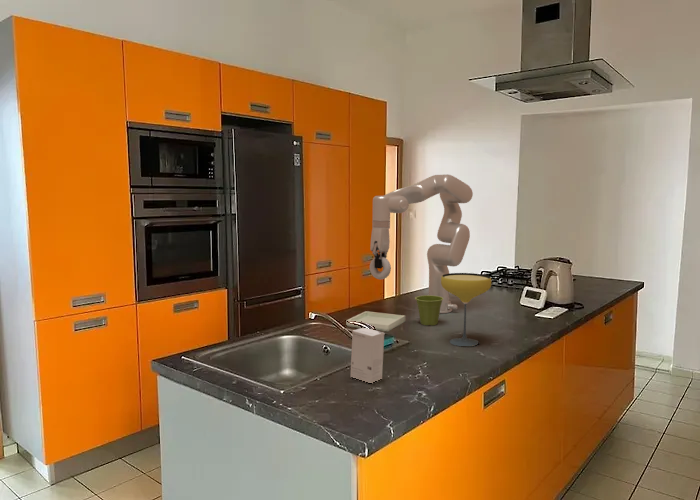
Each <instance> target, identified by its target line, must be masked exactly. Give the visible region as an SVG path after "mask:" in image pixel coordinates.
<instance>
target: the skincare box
mask: <svg viewBox="0 0 700 500" xmlns="http://www.w3.org/2000/svg"><path fill="white" fill-rule="evenodd" d="M351 335H352V336H351V337H352V339H351V354H350V355H351V358H350V378H351V377H353V378H356V379H359V380H362V381H361V382H363V381H365V382H364V383H366V382H368V383H372V384H374V383H373V382H375V381H377V382H379V381H378V380H380V379H382V380H383V370H384V369H383V367H384V366H383V365H384V364H383V362H384V346H385V332H384V331H380V330H373V329H368V328H357V329H353V330H352V333H351ZM356 379H355V380H356ZM359 380H358V381H359ZM380 381H381V380H380ZM368 383H367V384H368ZM375 383H376V382H375Z"/></svg>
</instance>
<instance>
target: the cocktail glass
mask: <svg viewBox="0 0 700 500" xmlns="http://www.w3.org/2000/svg"><path fill="white" fill-rule="evenodd" d="M441 285H442V287H443V288H444V289H445V290H446V291H448V292H449V294H452V295H453V296H455V297H457V298H458V299H459V300H460V301H461V302H462V304H464V312H463V313H464V314H463V315H464V317H463V331H462V332H463V333H462V337H457V338H456V337H455V338H453V339H450V340H449V343H450V344H451V345H453V346H456V345H457V346H456V347H461V346H472V345H476V344H478V342H479V341H478V340H476V339H473V338H468V337H467V305H468V304H469V303H470V302H471V301H472V299H474V298H476V297H478V296H480V295H483V294H484V293H486V292H488V291H489V290H490V289H491V287H492V277H491V276H490V275H488V274H487V275H486V274H481V273H474V272H473V273H472V272H470V273H469V272H452V273H451V272H449V274H444V275H442V277H441Z"/></svg>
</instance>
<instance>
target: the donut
mask: <svg viewBox="0 0 700 500" xmlns="http://www.w3.org/2000/svg"><path fill="white" fill-rule="evenodd" d="M381 259H382V266H383V267H382V270H381V271H379V268H375V259H374V258H373V259H371V260H370V263H369V271H370V274H371V275H372V277H373V278H375V279H377V280H384V279H387V278H388V277H390V274H391V270H392V267H391V263H390V261H389V260H388V259H387V258H385V257H381Z"/></svg>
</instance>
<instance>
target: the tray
mask: <svg viewBox="0 0 700 500" xmlns="http://www.w3.org/2000/svg"><path fill="white" fill-rule="evenodd" d="M347 321H356V322H361V321H362V322H364V323H368V324H370V325H372V326H374V327H375V329H376V331H379V332H390V331H392V330H393V329H395V328H396V327H399V326H400V325H402V324H403V323H405V322H406V315H403V314H402V315H401V314H394V313H385V312H375V311H369V310H367V311H366V310H365V311H363V312H361V313H359V314H357V315H354V316H352V317H351V318H348V319H346V321H345V322H346V324H345V325H347V326H346V327H349V328H350V327H351V328H357V329H360V328H361V327H360V326H358V325H354V324H350V323H348V322H347Z"/></svg>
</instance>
